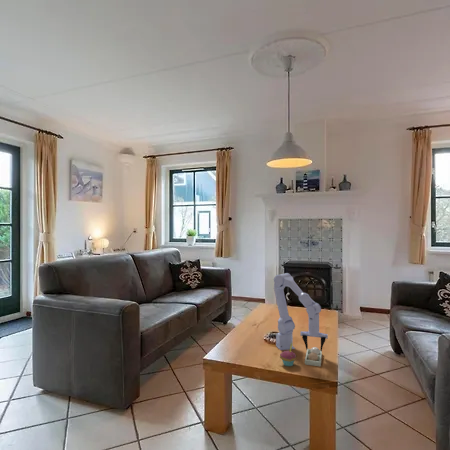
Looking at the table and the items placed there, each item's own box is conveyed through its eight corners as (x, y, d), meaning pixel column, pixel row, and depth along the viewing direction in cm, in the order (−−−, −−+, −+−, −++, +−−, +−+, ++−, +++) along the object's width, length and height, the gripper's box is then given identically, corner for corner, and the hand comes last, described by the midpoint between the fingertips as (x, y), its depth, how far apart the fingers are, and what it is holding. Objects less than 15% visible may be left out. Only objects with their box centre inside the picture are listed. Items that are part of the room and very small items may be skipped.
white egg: (311, 357, 170) (314, 349, 169) (307, 353, 174) (310, 344, 174) (320, 359, 171) (322, 350, 170) (315, 354, 175) (318, 346, 175)
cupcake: (294, 361, 167) (294, 339, 167) (298, 368, 159) (298, 345, 159) (278, 361, 167) (278, 339, 167) (281, 368, 159) (281, 345, 159)
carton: (320, 367, 160) (320, 362, 160) (304, 365, 163) (304, 360, 163) (321, 354, 175) (321, 350, 175) (307, 352, 178) (307, 348, 178)
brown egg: (311, 364, 162) (311, 354, 162) (306, 360, 167) (306, 351, 167) (319, 363, 163) (319, 354, 163) (315, 359, 168) (315, 350, 168)
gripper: (327, 324, 174) (327, 348, 174) (301, 321, 179) (301, 345, 179) (327, 328, 167) (327, 353, 167) (300, 325, 172) (300, 350, 172)
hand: (313, 349), depth 172 cm, fingers open, 7 cm apart
